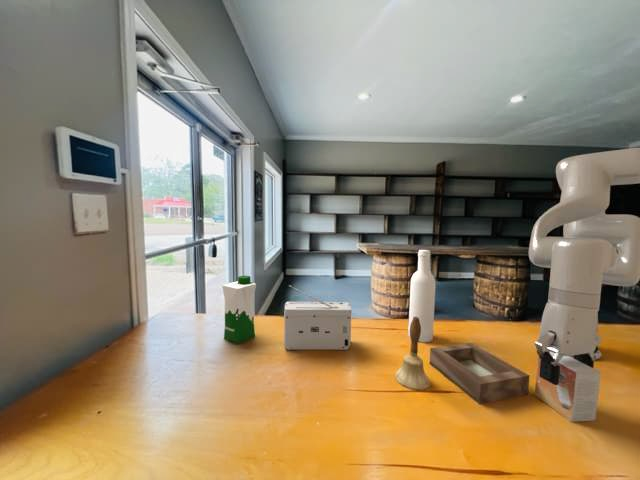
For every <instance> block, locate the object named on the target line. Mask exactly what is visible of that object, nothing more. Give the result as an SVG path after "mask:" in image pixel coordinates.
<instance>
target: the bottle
mask: <svg viewBox="0 0 640 480" xmlns="http://www.w3.org/2000/svg"><path fill="white" fill-rule="evenodd" d="M417 257H418V258H417V259H418V260H417V270H416V271H415V272H414V273H413V274H412V276H411V278H410V287H409V289H410V291H409V293H410V294H409V308H408V309H409V313H408V329H407V331H408V332H407V334H408V337H409V338H410V325H411V322H412V320H413V317H418V318H419V322H420V325H421V335H420V338H419V341H418V343H419V342H420V343H429V342H432V341H433V340H434V339H433V337H434V321H435V318H434V317H435V303H436V302H435V299H436V278H435V276H434V275H433V273H432V272H431V271H430V266H431V265H430V262H431V250H429V249H419V250H418V253H417Z"/></svg>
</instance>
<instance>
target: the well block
mask: <svg viewBox="0 0 640 480" xmlns="http://www.w3.org/2000/svg"><path fill="white" fill-rule="evenodd" d="M429 365H431V366H432V368H434V369H436V370H437V371H438V372H439V373H440V374H441V375H443V376H444V377H445V378H446V379H448V380H449V381H450V382H451V383H453V384H454V385H455V386H457V388H459V389H460V390H461V391H463V392H464V393H465V394H466V395H467V396H468V397H470V398H471V399H472V400H473V401H474V402H476V403H478V404H479V405H482V404H486V403H491V402H496V401H501V400H505V399H511V398H515V397H521V396H527V395H528V394H529V388H530V387H529V386H530V375H529V374H528V373H526V372H525V371H522V370H520V369H519V368H517V367H515V366H514V365H512V364H510V363H509V362H506V361H505V360H503V359H501V358H499V357H498V356H496V355H494V354H492V353H491V352H490V351H489V352H488V351H486V350H485V349H484V348H482V347H480V346H478V345H476V344H475V343H472V342H469V343H462V344H454V345H453V344H452V345H445V346H444V345H443V346H438V347H430V349H429Z"/></svg>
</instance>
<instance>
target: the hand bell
mask: <svg viewBox="0 0 640 480" xmlns="http://www.w3.org/2000/svg"><path fill="white" fill-rule="evenodd" d="M420 335H421V325H420V322H419V318H418V317H413V320H412V322H411V325H410V337H409V338H410V341H411V342H410V351H409V354H405V355H404V357H403V362H402V364H401V367H400V368H399V369H397V370H396V372H395V373H394V377H395V380H396V381H397V382H398V384H400V385H401V386H403V387H405V388H407V389H411V390H414V391H423V390H427V389H428V388H429V387H430V386H431V381H430V378H429V377H428V376H427V375H426V372H425V369H424V361H423V359H422V358H421V356H418V351H419V350H418V349H419V348H418V346H419V345H418V344H419V338H420Z"/></svg>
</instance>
